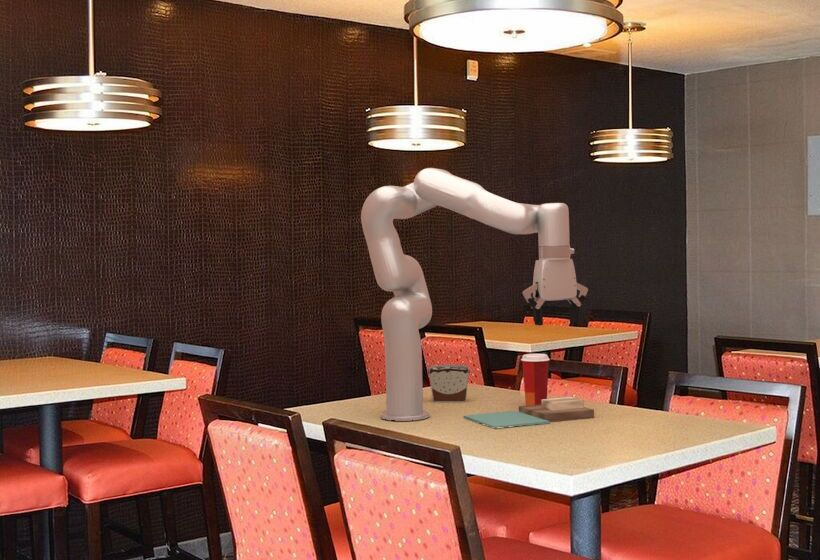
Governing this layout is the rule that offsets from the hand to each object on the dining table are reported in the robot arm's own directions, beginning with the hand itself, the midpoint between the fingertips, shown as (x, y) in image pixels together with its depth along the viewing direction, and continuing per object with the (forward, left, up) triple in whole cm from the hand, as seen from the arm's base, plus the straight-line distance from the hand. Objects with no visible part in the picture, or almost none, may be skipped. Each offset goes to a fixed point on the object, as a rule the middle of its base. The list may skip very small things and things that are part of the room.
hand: (556, 323), depth 253 cm
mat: (-11, -9, -25) cm, 28 cm away
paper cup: (-27, +9, -25) cm, 38 cm away
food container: (-48, -7, -25) cm, 55 cm away
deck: (-11, +6, -25) cm, 28 cm away
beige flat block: (-11, +8, -22) cm, 25 cm away
